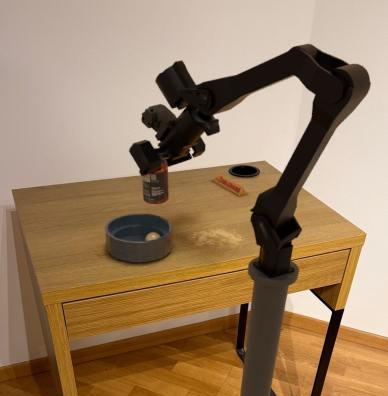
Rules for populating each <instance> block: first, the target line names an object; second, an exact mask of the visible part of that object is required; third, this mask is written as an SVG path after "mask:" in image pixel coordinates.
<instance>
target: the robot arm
mask: <svg viewBox="0 0 388 396" xmlns="http://www.w3.org/2000/svg"><path fill="white" fill-rule="evenodd" d="M293 77H295V78H296V79H298V80H299V81H300V82H301V84H302V85H303V86H304V87H305V88H306V90H307V91H309V92H311V93H312V94H313V95H314V96H313V99H312V105H311V117H310V120H309V122H308V124H307V126H306V127H305V130H304V131H303V133H302V135H301V137H300V138H299V141H298V143H297V145H296V146H295V148H294V150H293V152H292V154H291V156H290V158H289V160H288V161H287V164H286V165H285V167H284V170H283V171H282V173H281V175H280V176H279V179H278V181H277V182H276V184H275V185H274V186H271V187H270V188H268V189H266V190H264V191H262V192H260V193H259V194H258V195H257V198H256V201H255V203H254V205H253V207H252V208H251V209H249V212H251V215H250V219H249V220H250V223H251V226H252V229H253V233H254V238H255V239H254V240H255V244H256V246H259V252H258V253H259V254H258V257H259V261H255V262H253V265H254V266H255V267H256V268H257V269H259V270H260V271H261V272H262V273H264V274H265V275H266V276H267V277H269V278H274V277H277V276H281V275H284V274H288V273H292V272H295V268H293V267H292V266H291V265H290V262H291V261H292V256H293V251H294V245H293V244H292V243H293V241H294V240H295V239H298V238H299V236H300V235H301V233H302V231H303V228H302V227H301V225H300V223H299V222H298V220H297V218H296V217H295V212H296V210H297V208H298V198H299V197H298V196H299V194H300V192H301V190H302V189H303V187H304V186H305V184H306V182H307V180H308V178H309V176H310V174H312V172H313V169H314V168H315V167H316V165H317V163H318V161H319V159H320V157H321V156H322V155H323V153H324V151H325V149H326V147H327V146H328V144H329V142H330V140H331V139H332V137H333V135H334V134H335V132H336V130H337V129H338V127H340V125H341V124H342V123H343V122H345V120H347V118H348V117H350V115H351V114H352V113H354V111H355V110H356V109H357V108H358V106H359V105H360V104H361V103H362V101H363V100H364V99H365V98H366V97H367V95H368V94H369V91H370V89H371V85H372V82H371V78H370V73H369V72H368V70H367V68H366V67H364V66H363V65H361V64H359V63H348V62H347V61H345V60H344V59H342V58H339V57H337V56H334V55H332V54H330V53H327V52H325V51H323V50H321V49H320V48H319V47H316V46H315V45H314V44H312V43H304V44H300V45H299V44H298V45H294V46H292V47H290V48H289V50H287V51H285V52H283V53H280V54H279V55H276V56H275V57H272V58H270V59H268V60H265V61H263V62H262V63H259V64H257V65H255V66H252V67H250V68H249V69H246V70H244V71H242V72H240V73H237V74H233V75H228V76H223V77H219V78H214V79H210V80H206V81H201V82H200V83H198V84H196V82H195V80H194V79H193V77H192V76H191V74H190V72H189V71H188V68H187V65H186V64H185V62H184V60H176V61H174V62H173V64H172V65H170V66H168V67H166V68H165V69H164V70H163V71H162V72H159V73H158V74H157V75H156V78H155V81H154V82H155V84H156V85H157V88H158V89H159V91H160V92H161V94H162V96H163V98H164V99H165V100H166V102H167V104H168V105H169V107H170V108H171V109H172V110H174V109H177V110H178V111H182V112H181V113H179V115H178V116H176V114H175V113H174V112H172V110H170V108H169V107H167V106H166V105H165V104H163V103H159V104H154V105H149V106H148V107H147V108H145V109H144V111H143V112H142V113H141V118H140V120H141V123H142V124H143V126H145V127H146V128H147V129H152V130H153V131H154V132H156V134H155V135H154V137H155V139H156V141H157V147H156V148H157V149H154V148H155V147H154V146H153V144H152V142H151V141H150V140H147V139H143V140H139V141H136V142H133V143H132V144H131V146H130V147H129V149H128V152H129V155H130V156H131V158H132V160H133V161H134V162H135V164H136V166H137V168H138V170H139V171H138V173H139V175H140V176H141V177H142V176H144V175H147V174H151V173H154V172H157V171H160V170H161V168H160V167H161V164H162V162H163V161H162V160H164V159H165V160H166V161H167V163H168V168H170V167H172V166H175V165H178V164H182V163H185V162H187V161H191V160H192V159H193V158H197V157H201V156H202V155H203V154H204V153H205V152H206V143H205V141H204V140H203V138H202V135H203V134H204V133H205V135H206V136H207V137H210V136H213V135H216V134H218V133H220V132H221V127H220V123H219V122H220V119H219V118H216V117H215V115H218V114H221V113H225V112H228V111H230V110H232V109H234V108H235V107H237V106H238V105H239V104H241V103H242V102H243V101H244V100H245V99H247V97H249V96H250V95H253V94H255V93H257V92H259V91H261V90H264V89H267V88H269V87H272V86H274V85H276V84H279V83H281V82H284V81H287V80H288V79H291V78H293ZM191 149H192V151H193V153H191Z"/></svg>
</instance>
